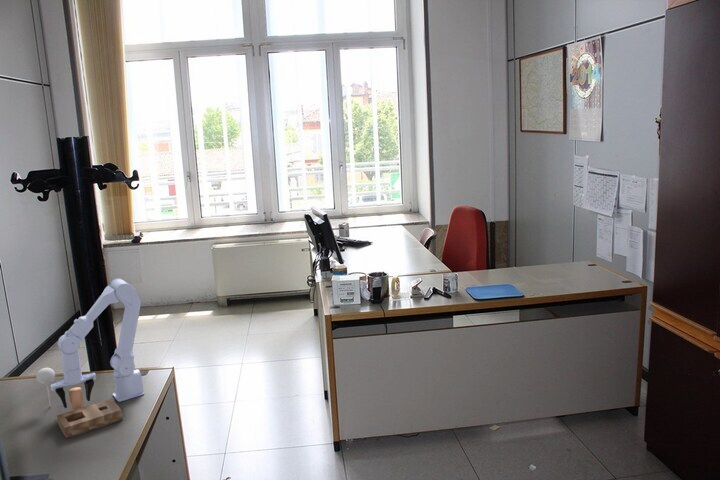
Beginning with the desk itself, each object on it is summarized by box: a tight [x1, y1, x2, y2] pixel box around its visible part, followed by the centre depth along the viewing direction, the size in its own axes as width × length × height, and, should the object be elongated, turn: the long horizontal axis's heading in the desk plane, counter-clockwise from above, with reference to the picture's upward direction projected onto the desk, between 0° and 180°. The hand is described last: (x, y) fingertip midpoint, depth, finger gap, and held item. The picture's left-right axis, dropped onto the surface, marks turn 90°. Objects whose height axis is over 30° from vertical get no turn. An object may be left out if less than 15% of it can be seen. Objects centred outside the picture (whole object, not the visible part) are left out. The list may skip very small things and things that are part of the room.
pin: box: [68, 386, 85, 411], centre depth 214 cm, size 4×4×8 cm
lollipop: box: [35, 367, 56, 408], centre depth 216 cm, size 6×6×15 cm
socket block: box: [56, 398, 124, 440], centre depth 205 cm, size 18×11×4 cm, turn 128°
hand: (76, 403), depth 214 cm, fingers open, 7 cm apart
